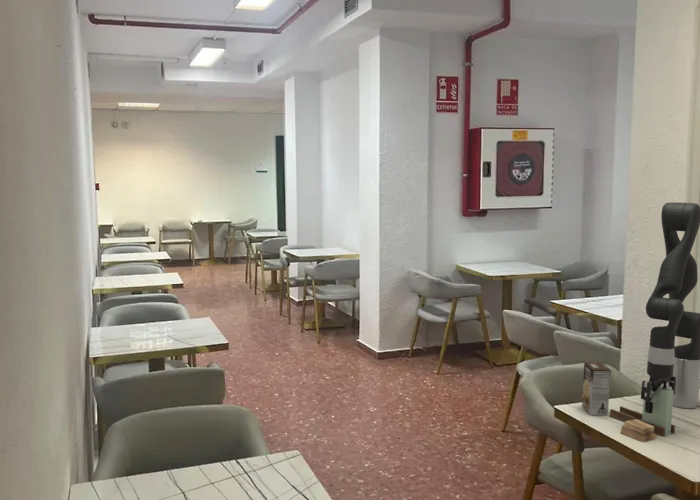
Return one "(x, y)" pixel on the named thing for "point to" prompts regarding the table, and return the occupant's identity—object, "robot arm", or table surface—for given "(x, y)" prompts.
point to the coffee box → (596, 388)
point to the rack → (631, 415)
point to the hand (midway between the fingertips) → (657, 410)
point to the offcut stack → (638, 430)
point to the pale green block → (661, 410)
